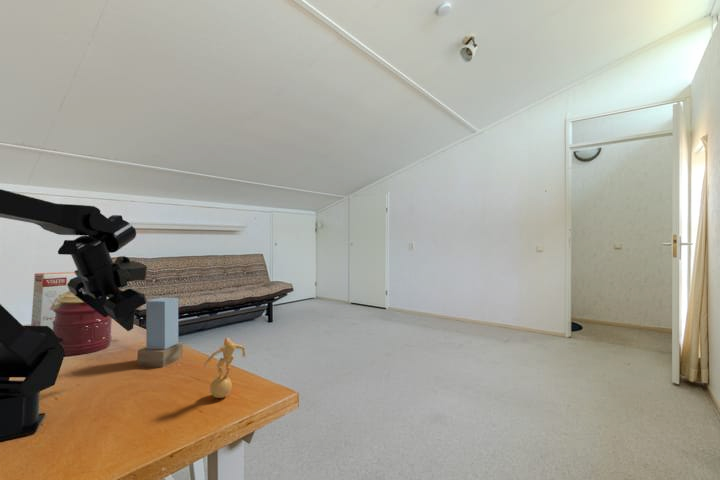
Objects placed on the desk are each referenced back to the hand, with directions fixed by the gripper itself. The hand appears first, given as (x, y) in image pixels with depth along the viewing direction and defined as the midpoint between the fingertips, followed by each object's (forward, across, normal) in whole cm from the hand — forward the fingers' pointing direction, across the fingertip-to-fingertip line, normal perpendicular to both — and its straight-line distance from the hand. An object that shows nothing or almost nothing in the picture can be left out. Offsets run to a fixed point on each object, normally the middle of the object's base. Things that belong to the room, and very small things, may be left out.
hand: (118, 322), depth 73 cm
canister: (+20, +26, +2) cm, 33 cm away
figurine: (+6, -32, 0) cm, 32 cm away
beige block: (+15, -2, -4) cm, 16 cm away
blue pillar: (+12, -2, -6) cm, 14 cm away
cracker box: (+24, +41, +1) cm, 48 cm away
